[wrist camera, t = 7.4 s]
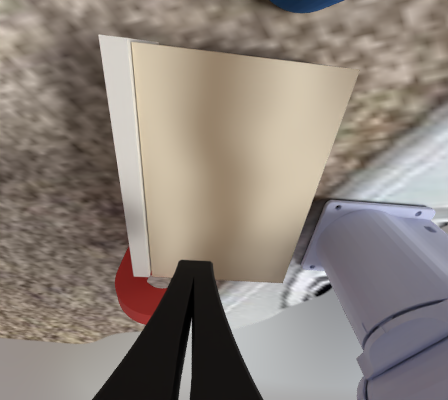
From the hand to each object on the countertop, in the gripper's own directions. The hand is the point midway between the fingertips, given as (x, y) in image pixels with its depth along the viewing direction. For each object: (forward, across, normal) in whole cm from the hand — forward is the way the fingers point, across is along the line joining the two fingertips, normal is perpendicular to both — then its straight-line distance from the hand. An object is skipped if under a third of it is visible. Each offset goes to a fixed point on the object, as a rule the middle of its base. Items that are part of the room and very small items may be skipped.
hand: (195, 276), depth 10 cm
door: (+9, +4, -2) cm, 10 cm away
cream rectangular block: (+9, -2, -2) cm, 10 cm away
